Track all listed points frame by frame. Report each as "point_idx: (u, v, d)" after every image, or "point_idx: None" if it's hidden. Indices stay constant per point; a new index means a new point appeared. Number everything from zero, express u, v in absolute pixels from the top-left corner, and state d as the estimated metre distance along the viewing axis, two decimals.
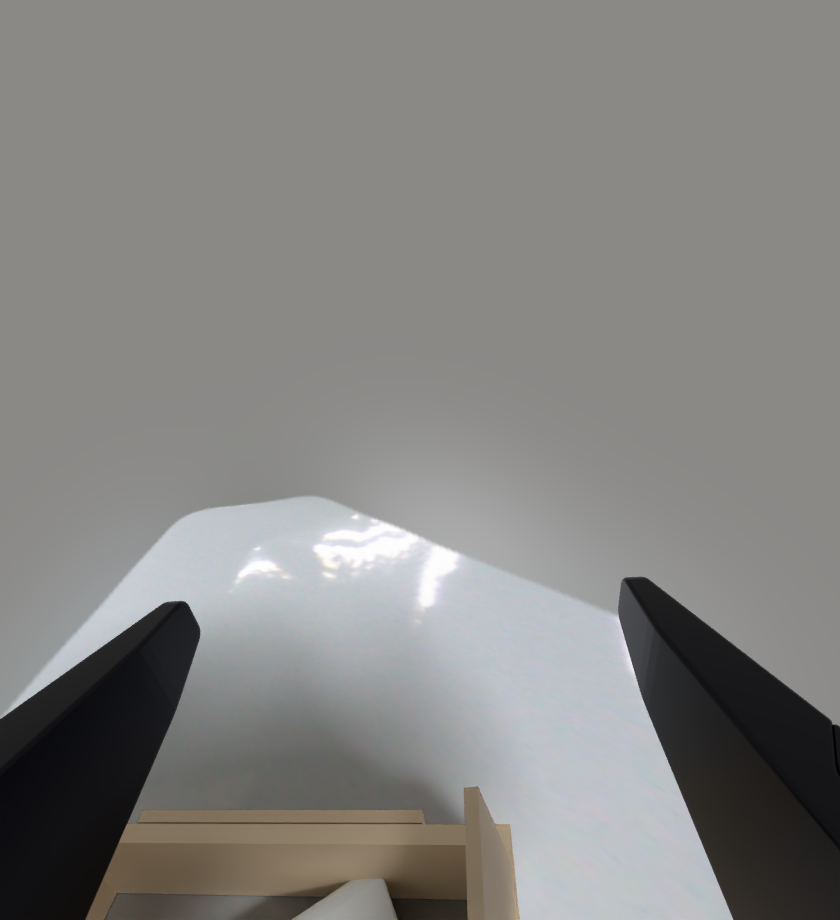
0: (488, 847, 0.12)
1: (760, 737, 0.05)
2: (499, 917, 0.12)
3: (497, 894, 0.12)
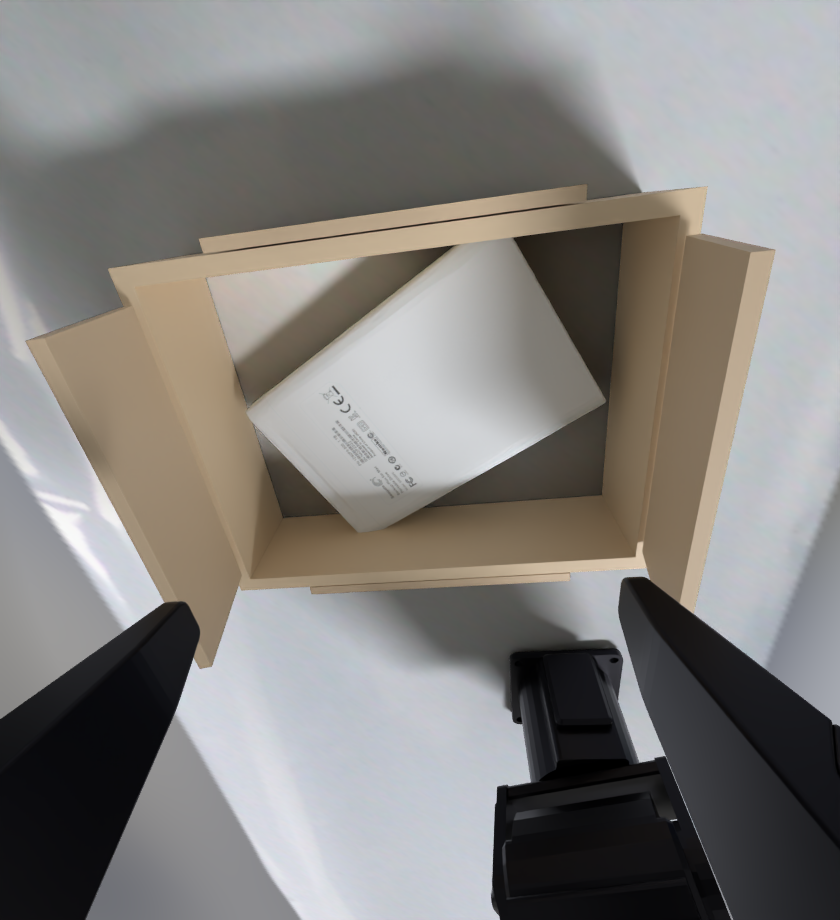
0: None
1: (760, 737, 0.05)
2: None
3: None
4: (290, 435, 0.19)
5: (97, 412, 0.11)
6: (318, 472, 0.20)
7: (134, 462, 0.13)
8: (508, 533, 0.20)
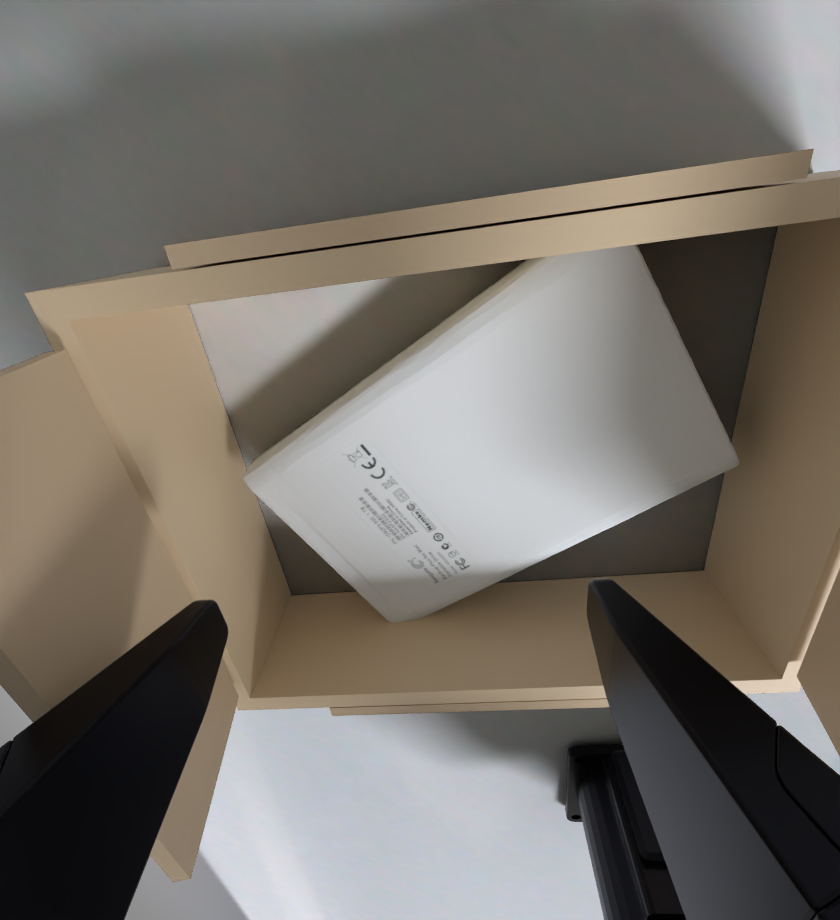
0: None
1: (705, 738, 0.05)
2: None
3: None
4: (302, 506, 0.14)
5: None
6: (339, 551, 0.15)
7: (55, 613, 0.08)
8: None
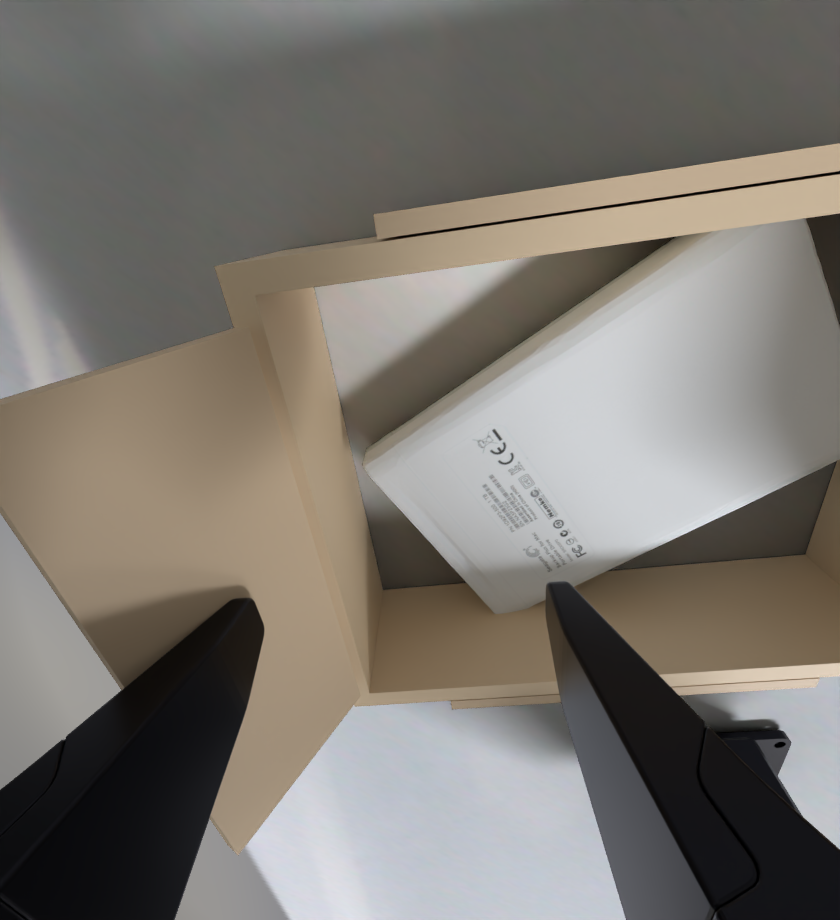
0: None
1: (634, 739, 0.05)
2: None
3: None
4: (423, 495, 0.14)
5: (75, 531, 0.07)
6: (454, 541, 0.15)
7: (154, 594, 0.08)
8: (708, 616, 0.15)
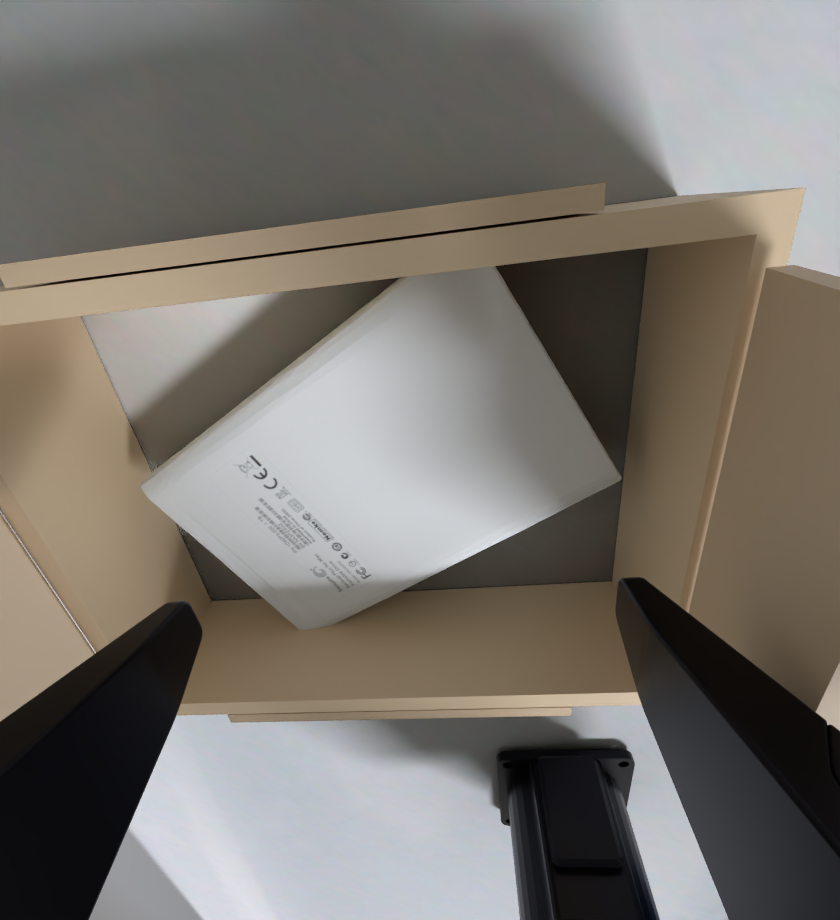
0: None
1: (755, 737, 0.05)
2: None
3: None
4: (201, 515, 0.15)
5: None
6: (242, 559, 0.15)
7: None
8: (491, 640, 0.15)
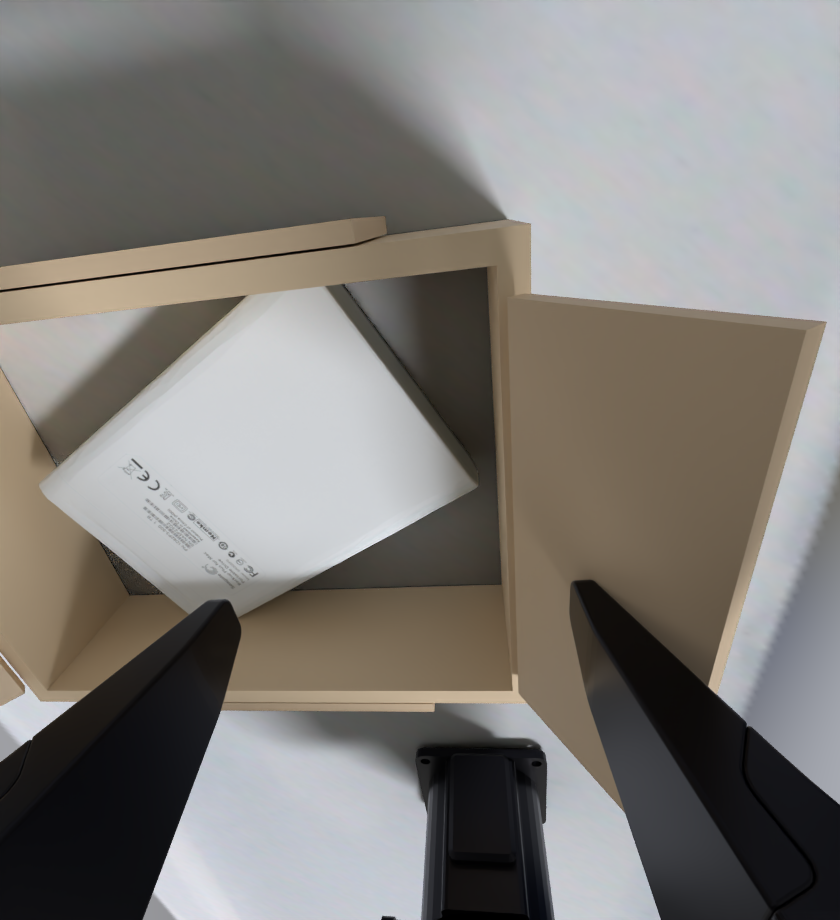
0: None
1: (674, 738, 0.05)
2: None
3: None
4: (95, 514, 0.16)
5: None
6: (139, 556, 0.16)
7: None
8: (371, 638, 0.16)
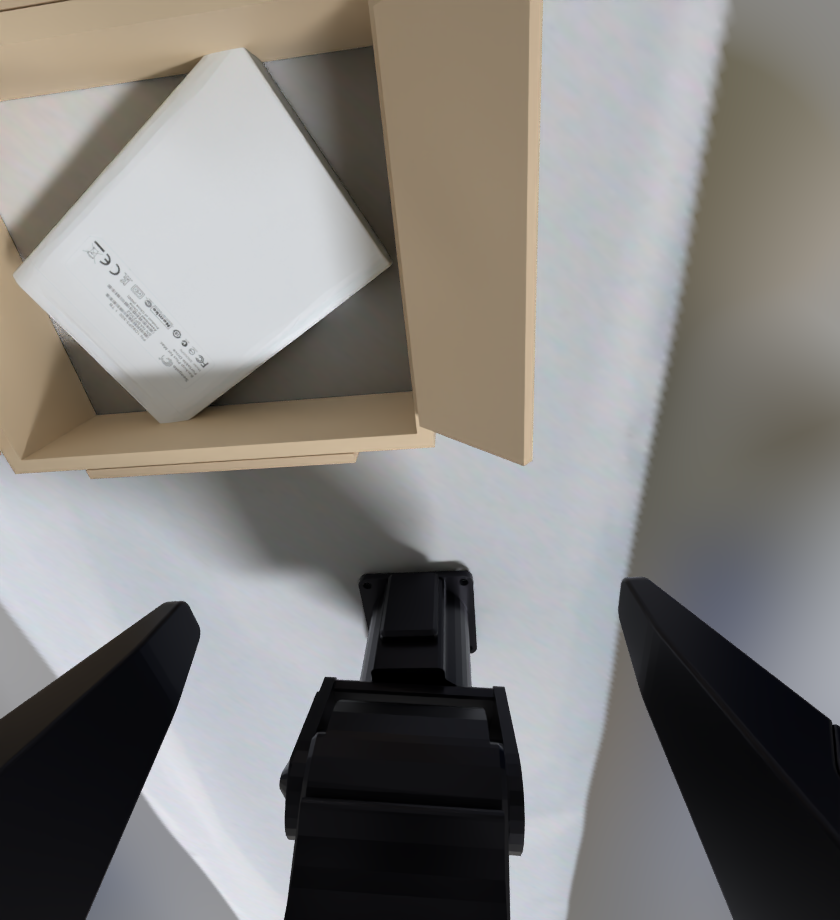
0: None
1: (760, 737, 0.05)
2: None
3: None
4: (63, 302, 0.18)
5: None
6: (103, 349, 0.19)
7: None
8: (307, 420, 0.19)
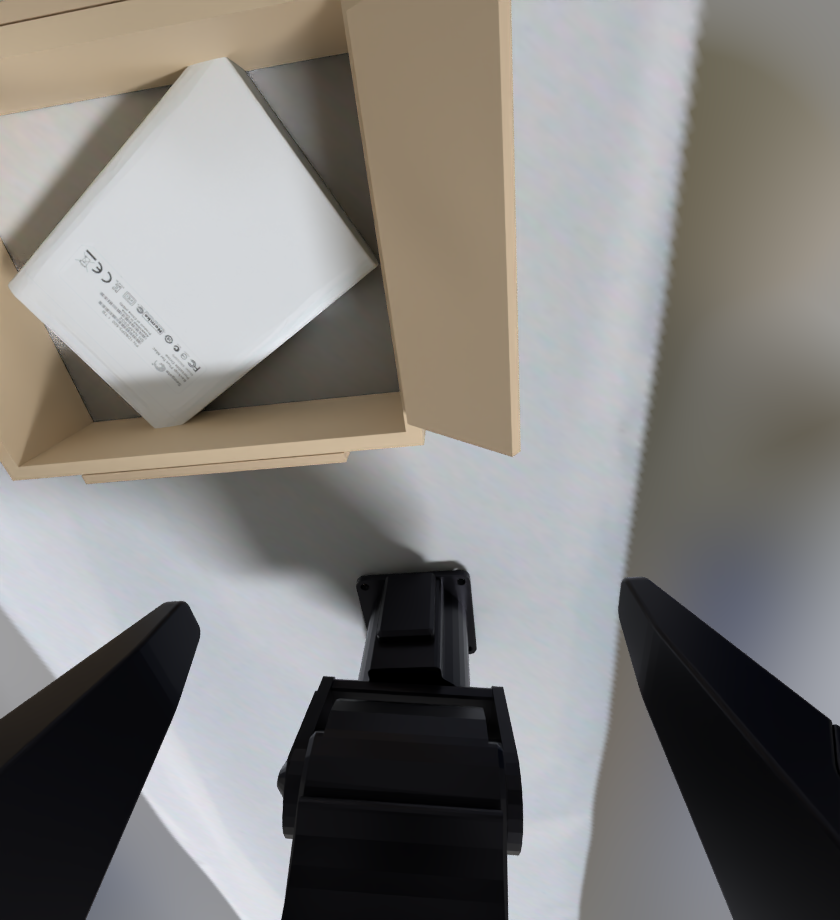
0: None
1: (760, 737, 0.05)
2: None
3: None
4: (57, 311, 0.18)
5: None
6: (97, 356, 0.19)
7: None
8: (298, 421, 0.19)
